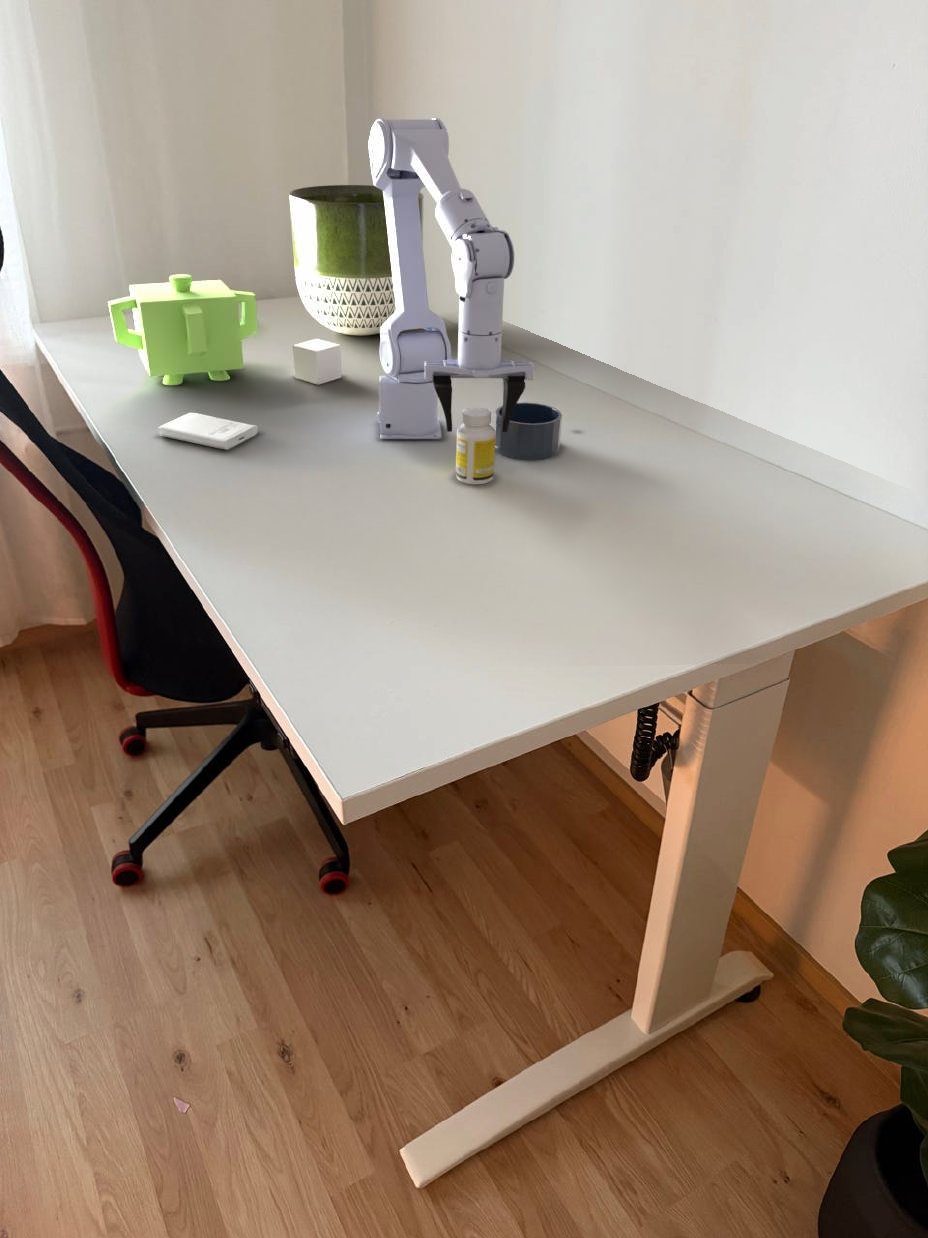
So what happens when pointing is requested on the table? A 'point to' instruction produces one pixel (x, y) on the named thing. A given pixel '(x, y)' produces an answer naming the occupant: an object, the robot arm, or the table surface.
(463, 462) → the supplement bottle
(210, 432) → the hard drive
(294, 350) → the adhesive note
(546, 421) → the dark grey hollow cylinder
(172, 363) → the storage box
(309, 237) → the planter
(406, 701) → the table surface
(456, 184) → the robot arm
